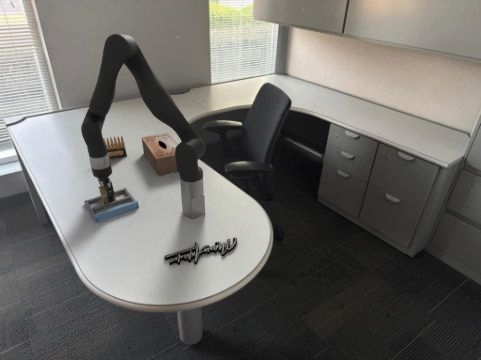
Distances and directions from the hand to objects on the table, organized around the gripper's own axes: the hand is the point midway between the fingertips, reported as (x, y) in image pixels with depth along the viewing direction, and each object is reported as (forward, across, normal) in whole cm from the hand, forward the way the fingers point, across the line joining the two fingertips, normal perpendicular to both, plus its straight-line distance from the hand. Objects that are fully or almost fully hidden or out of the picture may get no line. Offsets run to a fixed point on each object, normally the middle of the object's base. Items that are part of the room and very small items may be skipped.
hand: (108, 196), depth 145 cm
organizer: (+3, -4, 0) cm, 4 cm away
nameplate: (+3, -49, -18) cm, 52 cm away
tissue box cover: (+3, +19, -35) cm, 40 cm away
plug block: (+3, 0, 0) cm, 3 cm away
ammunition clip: (+3, +37, -16) cm, 40 cm away
